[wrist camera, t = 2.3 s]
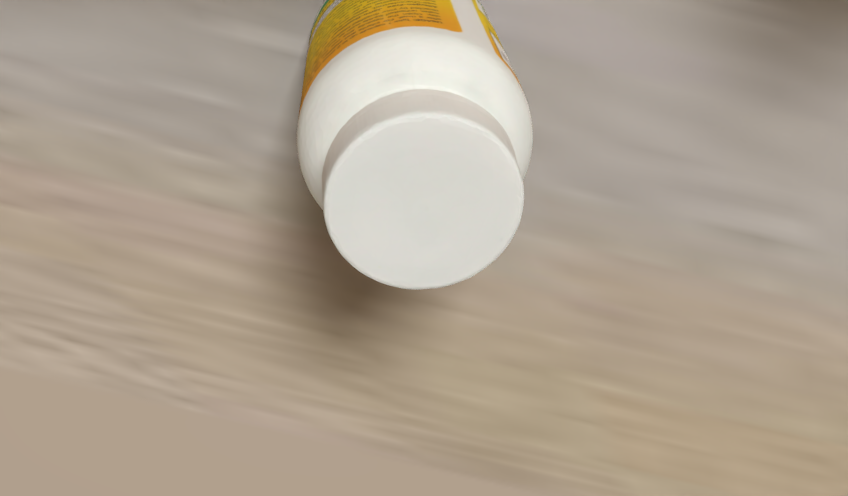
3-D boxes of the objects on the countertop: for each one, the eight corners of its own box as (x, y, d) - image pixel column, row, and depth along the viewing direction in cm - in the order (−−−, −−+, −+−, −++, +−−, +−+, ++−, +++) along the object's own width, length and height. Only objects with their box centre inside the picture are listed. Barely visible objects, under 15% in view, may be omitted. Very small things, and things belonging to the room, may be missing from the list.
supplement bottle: (525, 20, 24) (618, 168, 16) (425, 161, 26) (462, 355, 18) (368, -85, 22) (382, 23, 14) (274, 77, 24) (240, 251, 16)
